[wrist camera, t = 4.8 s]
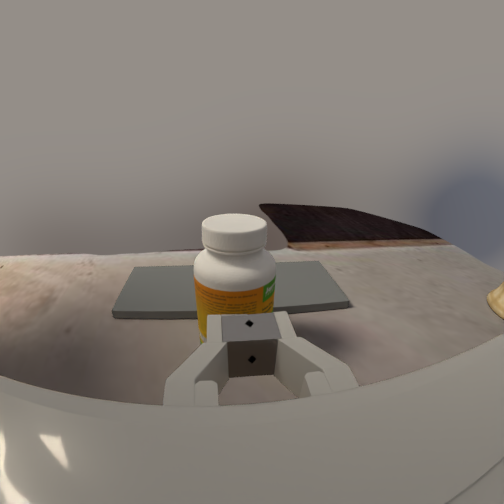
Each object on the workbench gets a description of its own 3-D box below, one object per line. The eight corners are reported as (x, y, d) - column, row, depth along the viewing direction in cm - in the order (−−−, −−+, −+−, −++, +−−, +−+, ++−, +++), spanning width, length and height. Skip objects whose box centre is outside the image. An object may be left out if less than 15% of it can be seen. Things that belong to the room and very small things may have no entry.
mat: (113, 317, 22) (111, 310, 22) (135, 272, 31) (134, 266, 30) (347, 307, 25) (349, 300, 25) (317, 266, 33) (318, 260, 33)
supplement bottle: (272, 369, 18) (283, 237, 14) (195, 366, 18) (180, 236, 14) (268, 323, 23) (275, 211, 19) (205, 321, 23) (199, 209, 19)
